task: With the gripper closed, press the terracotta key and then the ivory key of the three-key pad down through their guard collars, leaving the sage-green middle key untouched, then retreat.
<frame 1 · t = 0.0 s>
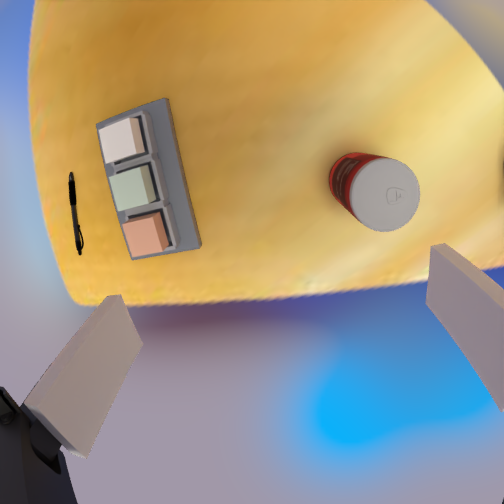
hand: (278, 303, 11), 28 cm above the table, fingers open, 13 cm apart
key terracotta: (145, 234, 35), point 5 cm above the table, slide at 0.0 cm
canned food: (355, 179, 36), on the table
keypad: (147, 181, 37), on the table
pen: (78, 213, 40), on the table
key ivory: (121, 140, 30), point 5 cm above the table, slide at 0.0 cm
key green: (132, 188, 33), point 5 cm above the table, slide at 0.0 cm
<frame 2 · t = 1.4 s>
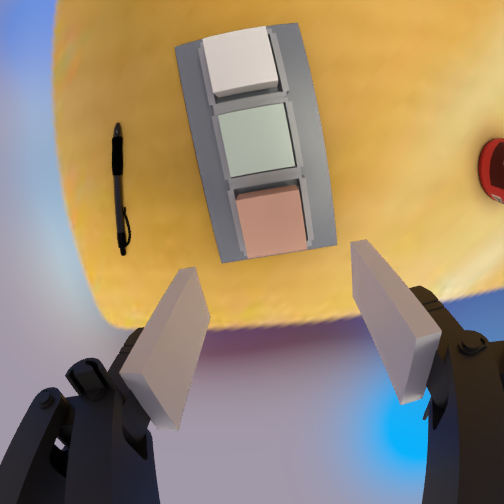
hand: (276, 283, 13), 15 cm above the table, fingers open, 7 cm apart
key terracotta: (272, 220, 22), point 5 cm above the table, slide at 0.0 cm
canned food: (496, 168, 23), on the table
keypad: (258, 140, 24), on the table
pen: (123, 190, 27), on the table
key ivory: (240, 61, 17), point 5 cm above the table, slide at 0.0 cm
key green: (257, 139, 20), point 5 cm above the table, slide at 0.0 cm
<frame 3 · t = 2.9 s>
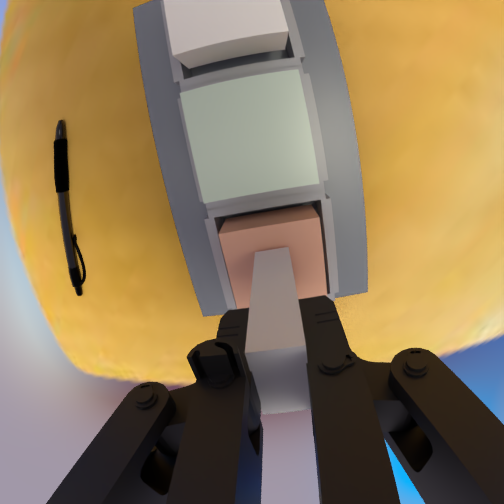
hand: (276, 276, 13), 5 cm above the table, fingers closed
key terracotta: (276, 260, 14), point 4 cm above the table, slide at 1.2 cm, touching gripper
keypad: (255, 136, 16), on the table
pen: (72, 211, 18), on the table
key ivory: (223, 9, 9), point 5 cm above the table, slide at 0.0 cm
key green: (251, 135, 11), point 5 cm above the table, slide at 0.0 cm
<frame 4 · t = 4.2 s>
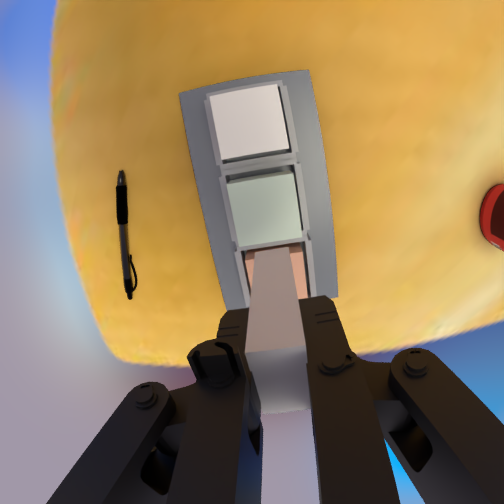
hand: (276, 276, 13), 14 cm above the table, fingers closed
key terracotta: (277, 275, 24), point 3 cm above the table, slide at 1.6 cm
canned food: (497, 213, 24), on the table
keypad: (265, 195, 25), on the table
pen: (128, 237, 28), on the table
key ivory: (250, 122, 18), point 5 cm above the table, slide at 0.0 cm
key green: (265, 207, 21), point 5 cm above the table, slide at 0.0 cm
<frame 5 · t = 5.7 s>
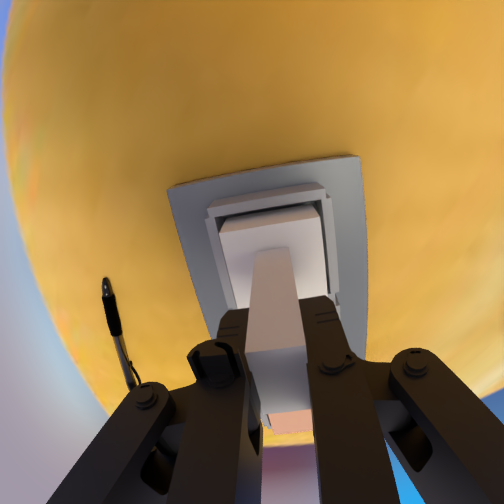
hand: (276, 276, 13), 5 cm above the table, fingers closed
key terracotta: (299, 404, 19), point 3 cm above the table, slide at 1.6 cm
keypad: (288, 316, 20), on the table
pen: (125, 343, 23), on the table
key ivory: (276, 260, 14), point 4 cm above the table, slide at 1.3 cm, touching gripper
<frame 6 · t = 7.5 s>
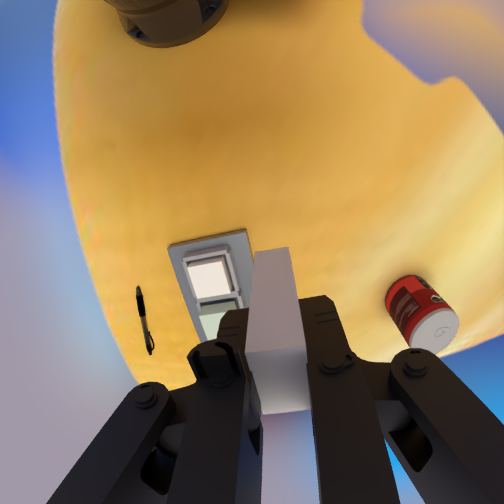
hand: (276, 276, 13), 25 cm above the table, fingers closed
canned food: (405, 295, 41), on the table
keypad: (226, 303, 42), on the table
pen: (147, 321, 45), on the table
key ivory: (210, 276, 37), point 3 cm above the table, slide at 1.6 cm
key green: (221, 322, 37), point 5 cm above the table, slide at 0.0 cm
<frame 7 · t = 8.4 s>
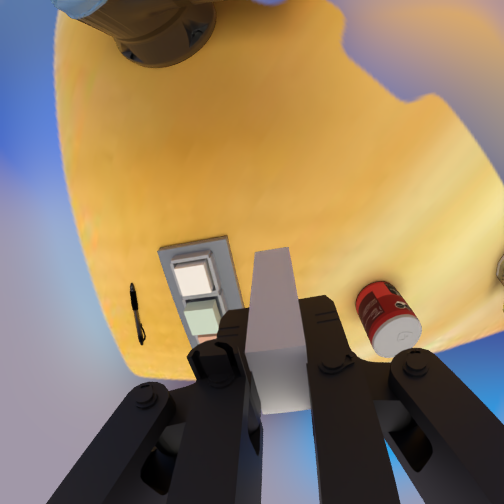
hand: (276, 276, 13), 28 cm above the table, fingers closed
key terracotta: (215, 342, 46), point 3 cm above the table, slide at 1.6 cm
canned food: (375, 298, 46), on the table
keypad: (209, 300, 47), on the table
pen: (139, 314, 50), on the table
key ivory: (194, 277, 42), point 3 cm above the table, slide at 1.6 cm
key green: (203, 317, 42), point 5 cm above the table, slide at 0.0 cm
ceramic cup: (501, 270, 43), on the table
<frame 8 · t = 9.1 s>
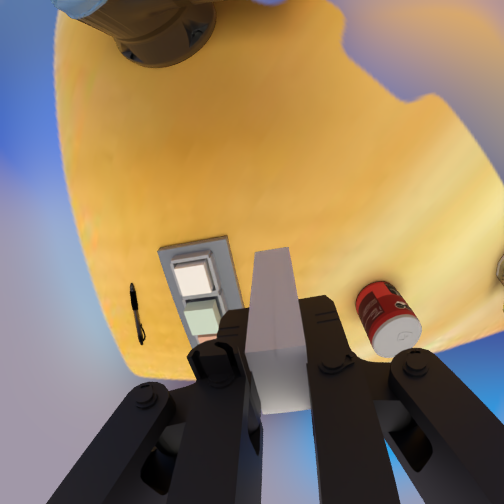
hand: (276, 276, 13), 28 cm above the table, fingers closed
key terracotta: (215, 342, 46), point 3 cm above the table, slide at 1.6 cm
canned food: (375, 299, 46), on the table
keypad: (209, 300, 47), on the table
pen: (139, 314, 50), on the table
key ivory: (194, 277, 42), point 3 cm above the table, slide at 1.6 cm
key green: (203, 317, 42), point 5 cm above the table, slide at 0.0 cm
ceramic cup: (501, 270, 43), on the table
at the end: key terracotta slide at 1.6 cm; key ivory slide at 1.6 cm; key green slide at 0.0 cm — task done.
